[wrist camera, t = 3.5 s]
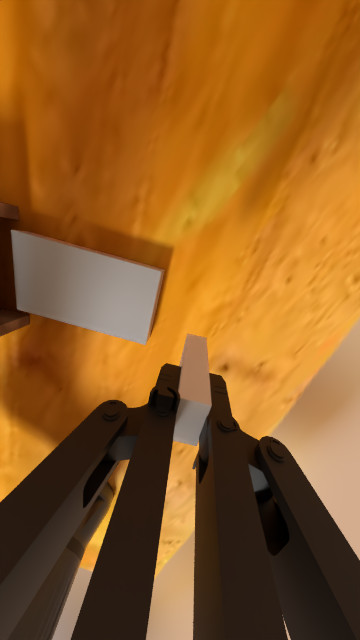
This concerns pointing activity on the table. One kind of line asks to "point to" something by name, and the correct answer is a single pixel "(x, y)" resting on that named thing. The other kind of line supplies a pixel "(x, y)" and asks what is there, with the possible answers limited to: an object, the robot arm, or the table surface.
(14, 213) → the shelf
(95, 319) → the tile
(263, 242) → the table surface
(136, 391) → the table surface
